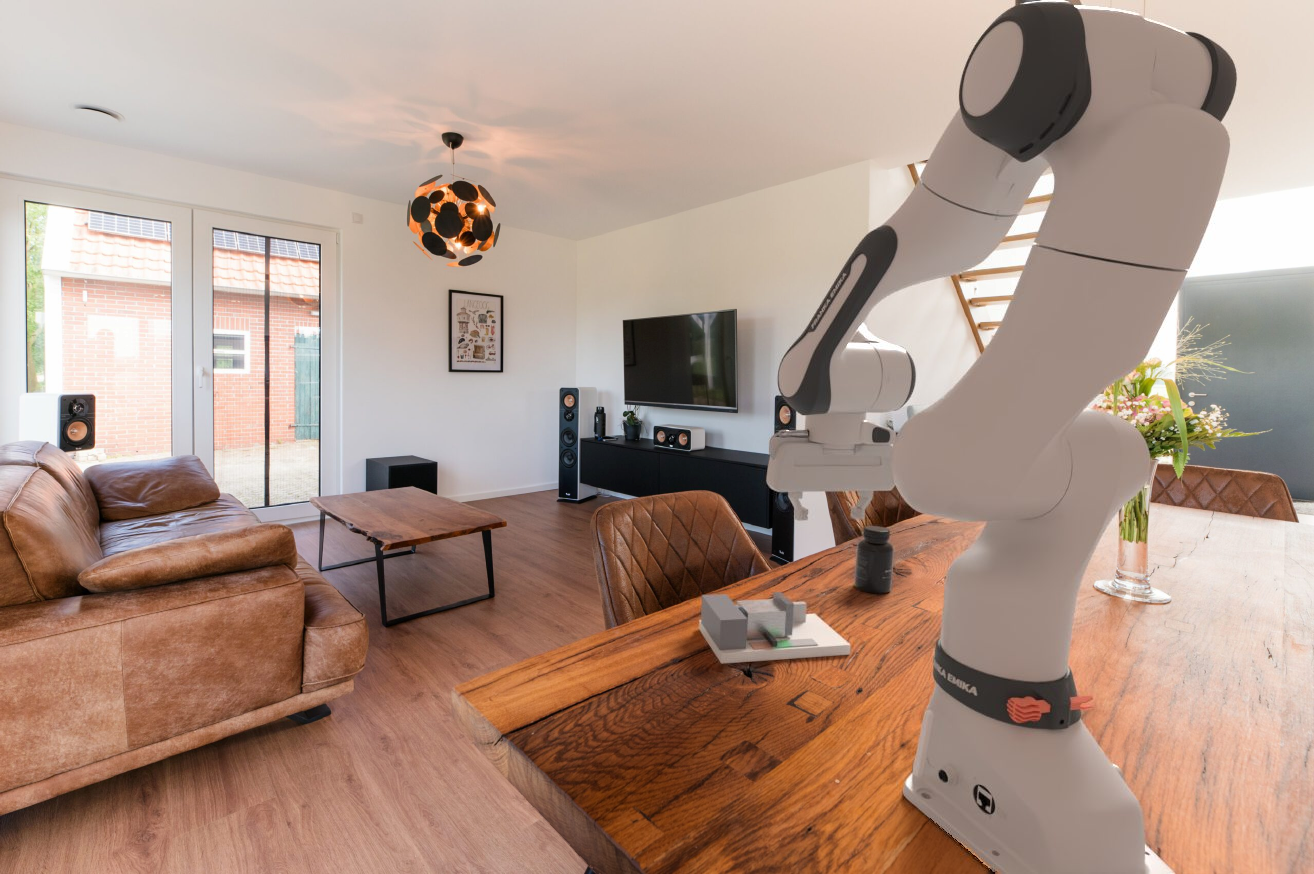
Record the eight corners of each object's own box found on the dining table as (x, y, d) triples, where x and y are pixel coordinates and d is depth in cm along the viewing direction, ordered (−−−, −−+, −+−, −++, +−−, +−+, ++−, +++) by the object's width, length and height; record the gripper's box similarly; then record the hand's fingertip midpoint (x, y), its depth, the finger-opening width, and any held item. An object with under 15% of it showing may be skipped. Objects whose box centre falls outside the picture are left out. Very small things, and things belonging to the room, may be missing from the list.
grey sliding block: (801, 646, 91) (803, 612, 90) (755, 649, 89) (756, 615, 89) (779, 622, 99) (780, 591, 98) (736, 625, 98) (737, 593, 97)
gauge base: (850, 654, 92) (852, 615, 92) (721, 663, 88) (722, 622, 88) (814, 622, 104) (816, 587, 103) (699, 628, 100) (700, 592, 99)
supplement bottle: (893, 596, 118) (898, 534, 116) (856, 592, 119) (860, 531, 118) (888, 584, 124) (892, 525, 123) (852, 581, 126) (856, 523, 124)
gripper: (778, 431, 89) (773, 525, 91) (906, 432, 93) (899, 522, 95) (762, 427, 95) (758, 515, 97) (883, 428, 100) (877, 513, 101)
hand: (829, 519), depth 96 cm, fingers open, 8 cm apart
